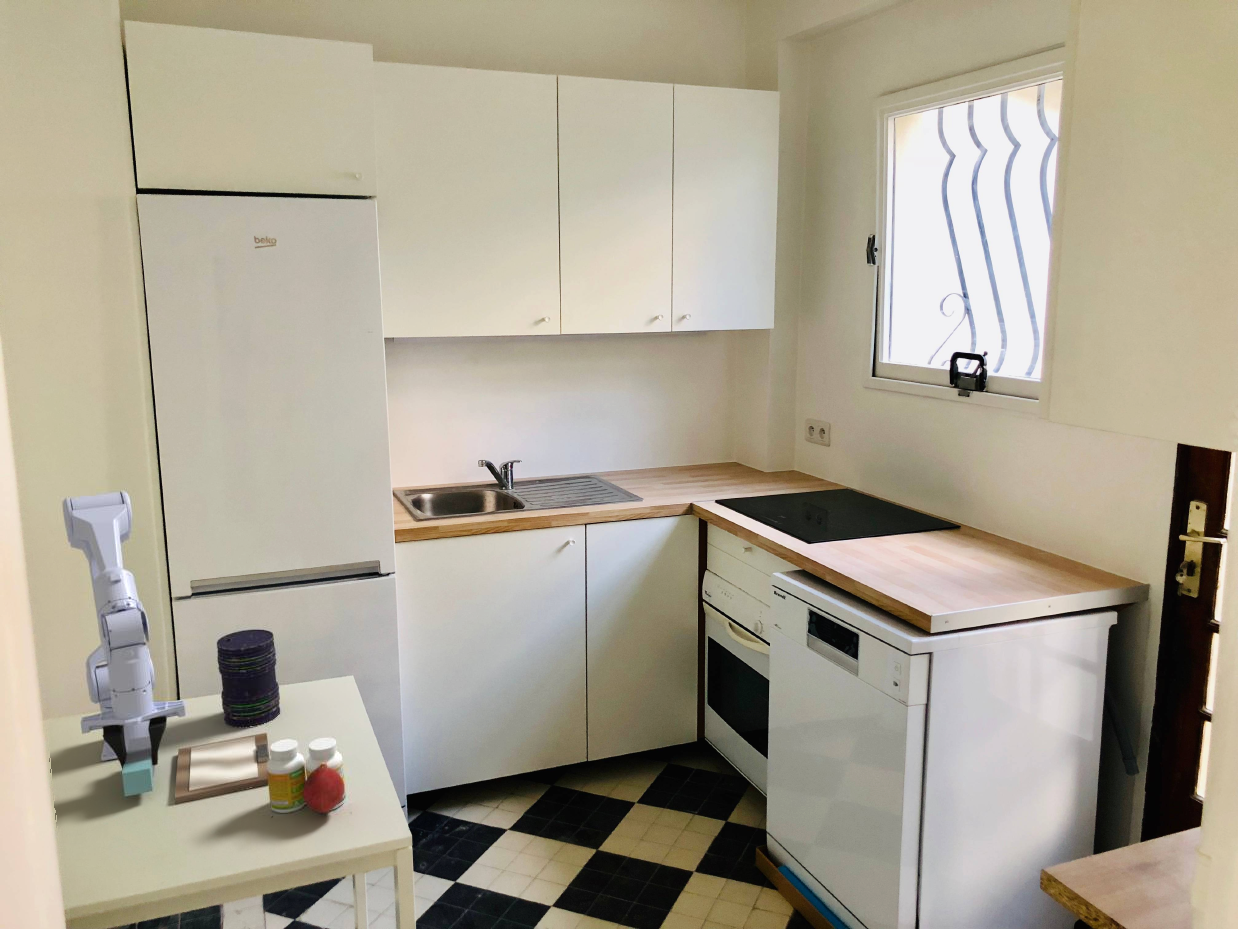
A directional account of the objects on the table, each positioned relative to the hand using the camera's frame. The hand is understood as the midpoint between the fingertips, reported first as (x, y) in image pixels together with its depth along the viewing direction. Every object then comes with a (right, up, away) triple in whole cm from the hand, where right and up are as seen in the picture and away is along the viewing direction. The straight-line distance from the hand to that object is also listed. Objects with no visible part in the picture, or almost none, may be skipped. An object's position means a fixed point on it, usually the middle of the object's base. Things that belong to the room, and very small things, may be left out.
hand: (140, 765), depth 150 cm
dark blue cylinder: (+8, +1, +24) cm, 26 cm away
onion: (+32, -4, -9) cm, 34 cm away
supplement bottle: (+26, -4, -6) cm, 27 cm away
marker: (0, -2, 0) cm, 2 cm away
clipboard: (+11, -2, +5) cm, 12 cm away
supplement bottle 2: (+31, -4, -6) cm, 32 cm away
